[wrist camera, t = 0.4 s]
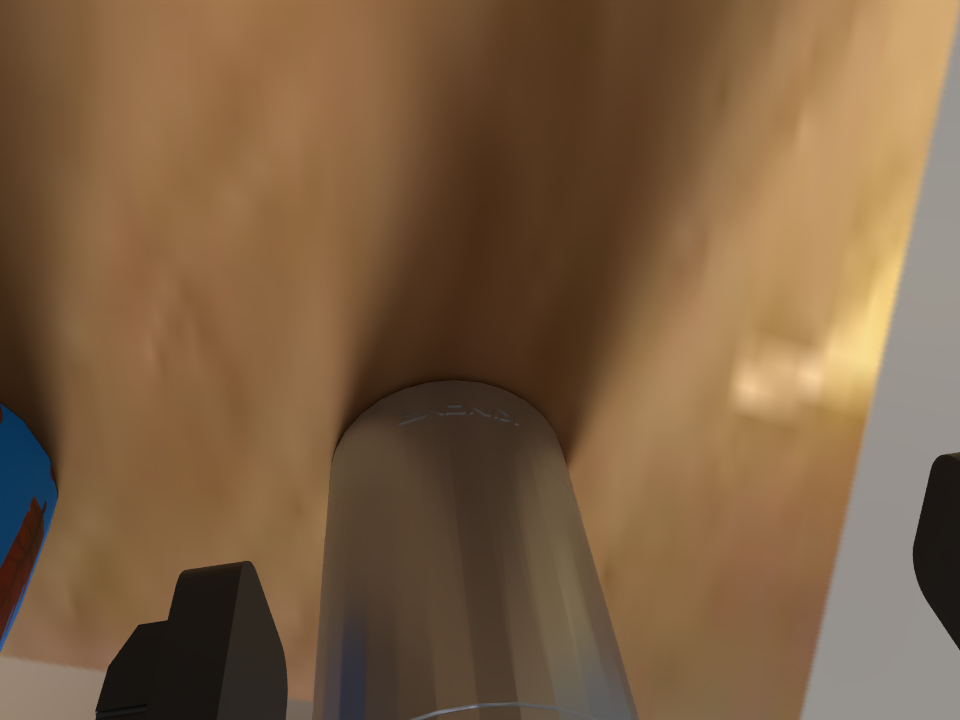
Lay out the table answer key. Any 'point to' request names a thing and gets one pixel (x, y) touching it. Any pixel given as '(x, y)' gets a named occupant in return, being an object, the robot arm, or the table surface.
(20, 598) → the thermos
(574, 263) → the table surface
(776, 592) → the table surface
